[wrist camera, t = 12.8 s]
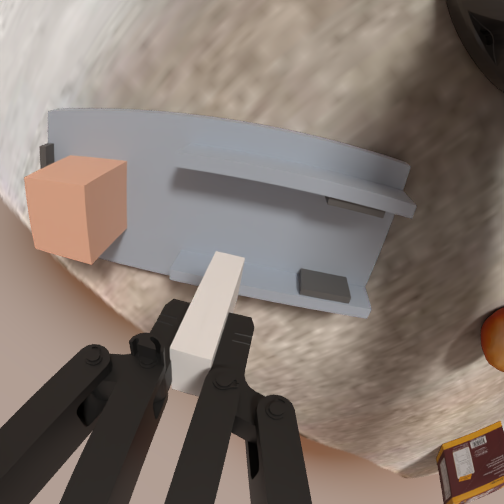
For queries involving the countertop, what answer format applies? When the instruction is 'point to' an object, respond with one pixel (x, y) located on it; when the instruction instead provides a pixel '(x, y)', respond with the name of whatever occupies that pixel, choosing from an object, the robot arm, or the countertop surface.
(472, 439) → the supplement box
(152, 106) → the countertop surface
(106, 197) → the block
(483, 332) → the fruit
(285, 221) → the chute
